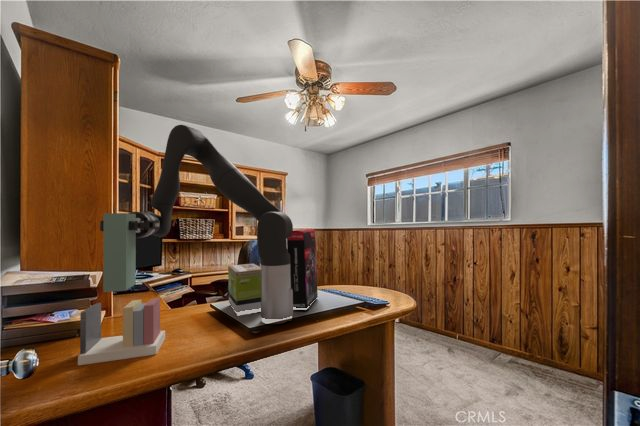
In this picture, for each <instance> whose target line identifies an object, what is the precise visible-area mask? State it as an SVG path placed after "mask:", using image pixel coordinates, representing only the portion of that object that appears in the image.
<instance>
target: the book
mask: <svg viewBox="0 0 640 426" xmlns="http://www.w3.org/2000/svg"><path fill="white" fill-rule="evenodd" d="M129 213H130V212H128V213H127V212H125V213H124V212H123V213H122V212H121V213H118V212H117V213H112V212H111V213H110V212H109V213H106V212H104V213H103V221H104V231H102V232H103V233H102V234H103V251H102V252H103V253H102V254H103V258H102V259H103V262H102V263H103V267H102V268H103V269H102V270H103V273H102V275H103V277H102V278H103V283H102V286H103V287H102V288H103V289H102V290H103V291H102V292H103V293H108V292H109V293H111V292H123V291H124V292H126V291H128V290H129V289H131V288H133V287H134V286H135V285H136V279H137V277H136V275H137V274H136V273H137V271H136V268H137V266H136V259H137V257H136V256H137V255H136V254H137V250H136V243H137V240H136V239H137V238H136V230H129V221H136V214H129Z"/></svg>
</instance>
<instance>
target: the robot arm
mask: <svg viewBox="0 0 640 426" xmlns="http://www.w3.org/2000/svg"><path fill="white" fill-rule="evenodd" d="M164 152H165V153H164V156H163V161H162V167H161V172H160V174H159V179H158V182H157V184H156V187H155V190H154V192H153V195H152V198H151V200H150V205H151V207H152V208H153V209H155V210H156V211H158V212H159V213H160V214H158V213H154V212H153V211H147V210H144V211H131V212H130V211H129V212H128V213H129V214H136V221H129V230H136V239H140V238H146V237H149V236H155V237H159V238H163V237H165V236H167V235H168V234H169V232H170V231H171V228H172V227H171V226H172V214H173V209H174V206H175V203H176V202H177V199H178V196H179V193H180V189H181V180H180V166H181V163H182V161H183V160H184V157H185V156H189V157H192V158H194V159H195V160H197V161H198V162H199V163H200V164H201V165H202V166H203V168H205V169H206V171H207V172H208V174H209V178H210V180H211V182H212V184H213V185H214V187H215V188H216V189H217V190H218V191H219V192H220V193H221V194H222V195H223V196H224V197H225V198H227V199H228V201H230V202H231V203H233V204H234V205H236V206H238V207H239V208H240V209H243V210H245V212H247V213H248V214H250V215H251V216H253V218H255V219H256V221H257V225H256V244H257V246H256V247H257V255H258V257H259V260H260V261H259V262H260V265H259V267H260V272H261V313H260V318H261V317H262V318H265V319H283V318H287V317H290V316H293V317H294V311H293V290H292V288H291V258H290V254H289V253H288V251H287V238H288V237H289V236H290V235H291V234H292V231H293V230H294V225H293V222H292V219H291V218H290V216H289V215H288V214H286V212H284V211H283V210H281V209H280V208H278V207H277V206H276V205H275V204H273V203H272V202H271V201H270V200H268V199H267V197H265V196H264V194H263V193H262V192H261V191H260V190H259V189H258V188H257V187H256V185H254V183H252V181H250V179H249V178H248V177H247V175H245V174H244V173H243V172H242V171H240V169H238V167H236V166H235V165H234V164H233V163H232V162H231V161H230V160H229V159H228V158H227V157H225V156H224V155H223V154H222V153H220V151H219V150H218V149H217V147H215V146H214V144H213V143H212V142H211V140H210V139H209V138H208V137H207V136H206V135H205V134H204V133H203V132H202V131H201V130H199V129H195V128H194V127H191V126H189V125H184V124H177V125H174V126H173V128H172V129H171V130H170V132H169V135H168V138H167V141H166V147H165V151H164ZM99 231H100V232H104V220H99Z"/></svg>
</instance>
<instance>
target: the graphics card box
mask: <svg viewBox="0 0 640 426" xmlns="http://www.w3.org/2000/svg"><path fill="white" fill-rule="evenodd" d="M286 240H287V251H288V253H289V254H290V258H291V288H292V290H293V307H296V308H307V307H308V306H310V304H311V303H312V302H313V301H314V300H315V299H316V298H317V297H319V296H318V274H317V273H318V272H317V248H316V245H317V243H316V229H312V228H311V229H309V228H307V229H304V228H303V229H301V228H300V229H293V231H292V234H291V235H290V236H289V237H288V238H287V239H286ZM317 299H318V298H317ZM317 299H316V300H317ZM316 300H315V301H316Z"/></svg>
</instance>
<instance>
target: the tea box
mask: <svg viewBox="0 0 640 426" xmlns="http://www.w3.org/2000/svg"><path fill="white" fill-rule="evenodd" d="M227 269H228V270H227V274H228V304H229V303H230V304H231V306H232V307H233V308H234V310H235V311H236V312H240V311H245V310H252V309H259V308H261V272H260V265H257V264H255V263H245V264H243V263H242V264H235V265H228V266H227Z"/></svg>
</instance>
